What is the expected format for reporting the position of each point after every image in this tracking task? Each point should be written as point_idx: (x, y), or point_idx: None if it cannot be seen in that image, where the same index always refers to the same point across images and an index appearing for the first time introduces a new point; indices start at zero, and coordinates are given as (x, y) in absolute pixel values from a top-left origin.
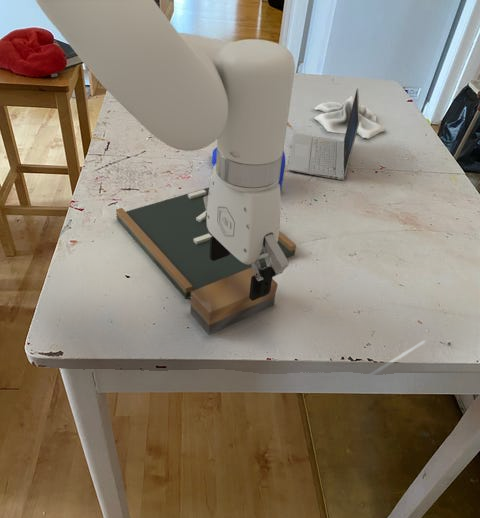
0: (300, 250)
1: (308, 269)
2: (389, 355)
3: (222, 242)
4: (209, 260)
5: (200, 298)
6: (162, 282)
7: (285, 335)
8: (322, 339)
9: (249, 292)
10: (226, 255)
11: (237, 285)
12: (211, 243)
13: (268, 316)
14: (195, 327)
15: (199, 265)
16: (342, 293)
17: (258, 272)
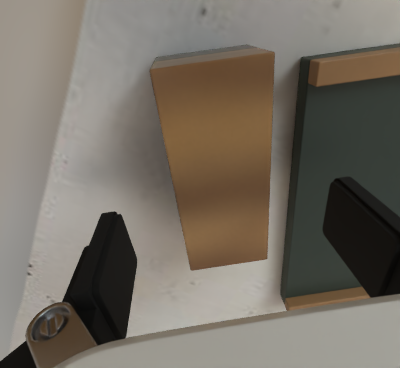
0: (283, 303)
1: (239, 297)
2: (25, 314)
3: (318, 334)
4: (367, 169)
5: (227, 70)
6: (395, 20)
7: (104, 211)
8: (78, 257)
9: (188, 211)
10: (324, 224)
11: (227, 195)
12: (393, 222)
13: (163, 205)
14: (195, 34)
15: (371, 141)
16: (168, 313)
17: (36, 353)
